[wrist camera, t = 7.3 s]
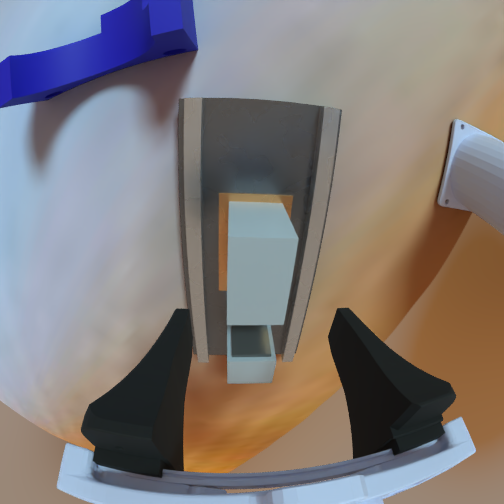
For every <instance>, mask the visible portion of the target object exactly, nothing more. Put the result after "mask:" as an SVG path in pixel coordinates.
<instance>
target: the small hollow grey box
mask: <svg viewBox="0 0 504 504" xmlns="http://www.w3.org/2000/svg"><path fill="white" fill-rule="evenodd" d="M275 365H276V355H275V349H274V343H273V337H272V331H271V325H227V384H243V383H272V379H273V375H274V370H275Z"/></svg>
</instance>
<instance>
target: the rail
mask: <svg viewBox="0 0 504 504" xmlns="http://www.w3.org/2000/svg"><path fill="white" fill-rule="evenodd" d="M341 112H342V110H340V109H336V108H330V107H324V106H315V105H308V104H300V103H292V102H282V101H271V100H258V99H238V98H184V99H179V126H178V155H179V196H180V218H181V235H182V250H183V263H184V274H185V285H186V295H187V305H188V309H190V317H191V326H192V334H193V352H194V354H197V357H198V362H206V363H209V355H227V259H228V216H229V201H236V202H266V203H283V205H284V208H285V210H286V212H287V214H288V216H289V218H290V221H291V223H292V225H293V227H294V229H295V232H296V234H297V236H298V238H299V239H298V246H297V252H296V258H295V264H294V270H293V276H292V282H291V288H290V293H289V299H288V304H287V310H286V315H285V320H284V325H271V331H272V337H273V343H274V349H275V354H281V357H282V362H290V361H293V357H294V354H295V353H296V350H297V347H298V343H299V339H300V335H301V331H302V327H303V323H304V319H305V315H306V311H307V307H308V303H309V299H310V294H311V290H312V286H313V281H314V277H315V272H316V267H317V263H318V258H319V253H320V248H321V243H322V238H323V233H324V227H325V222H326V216H327V211H328V205H329V199H330V193H331V187H332V181H333V174H334V167H335V160H336V153H337V146H338V138H339V130H340V121H341Z"/></svg>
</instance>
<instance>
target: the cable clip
mask: <svg viewBox="0 0 504 504" xmlns="http://www.w3.org/2000/svg"><path fill="white" fill-rule="evenodd" d="M101 32H102V33H100V34H97V35H95V36H92V37H89V38H86V39H84V40H81V41H78V42H74V43H71V44H68V45H65V46H61V47H58V48H54V49H50V50H46V51H42V52H37V53H32V54H25V55H15V56H9V57H7V58H6V59H5V60H3V61H2V62H1V63H0V108H3V107H8V106H14V105H19V104H25V103H31V102H38V101H45V100H49V99H51V98H53V97H55V96H57V95H59V94H61V93H63V92H65V91H67V90H70V89H72V88H74V87H76V86H79V85H81V84H83V83H86V82H88V81H91V80H93V79H96V78H98V77H101V76H104V75H106V74H109V73H112V72H115V71H118V70H121V69H124V68H127V67H130V66H133V65H137V64H140V63H144V62H147V61H151V60H155V59H159V58H163V57H167V56H171V55H176V54H180V53H185V52H190V51H195V50H198V45H197V37H196V28H195V20H194V10H193V1H192V0H130V1H129V2H127V3H125V4H124V5H122V6H120V7H118V8H116V9H114V10H112V11H110V12H107V13H105V14H103V15H101Z"/></svg>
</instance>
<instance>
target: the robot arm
mask: <svg viewBox="0 0 504 504" xmlns="http://www.w3.org/2000/svg"><path fill="white" fill-rule="evenodd" d="M461 125H462V127H461ZM445 201H446V202H445ZM437 202H438V204H439V205H440V206H444V207H449V208H455V209H461V210H466V211H472V212H473V213H475V214H476V215H478V216H479V217H480V218H482V219H483V220H485V221H486V222H487V223H489V224H490V225H491V226H493V227H494V228H495V229H497V230H498V231H499V232H500V233H502V234H503V235H504V142H502V141H500V140H498V139H497V138H495V137H493V136H491V135H489V134H487V133H485V132H484V131H482V130H480V129H478V128H476V127H474V126H471V125H469V124H467V123H465V122H463V121H461V120H458V119H455V120H454V121H453V125H452V132H451V139H450V145H449V150H448V156H447V161H446V166H445V170H444V175H443V179H442V184H441V188H440V192H439V196H438V200H437ZM328 339H329V344H330V349H331V354H332V357H333V360H334V362H335V365H336V368H337V371H338V374H339V377H340V380H341V383H342V386H343V389H344V392H345V396H346V401H347V406H348V412H349V418H350V424H351V433H352V443H353V459H352V460H347V461H343V462H338V463H333V464H328V465H322V466H316V467H310V468H303V469H296V470H286V471H277V472H262V473H232V474H231V473H230V474H229V473H198V472H185V471H184V464H183V421H184V401H185V393H186V387H187V381H188V376H189V370H190V364H191V358H192V346H193V334H192V326H191V317H190V309H176V310H175V311H174V313H173V315H172V317H171V319H170V320H169V322H168V324H167V326H166V327H165V329H164V330H163V332H162V333H161V335H160V336H159V338H158V339H157V341H156V342H155V344H154V345H153V346H152V348H151V349H150V350H149V352H148V353H147V354H146V355H145V357H144V358H143V359H142V360H141V361H140V363H139V364H138V365H137V366H136V367H135V368H134V369H133V370H132V371H131V372H130V373H129V374H128V375H127V376H126V377H125V378H124V379H123V380H122V381H121V382H119V383H118V384H117V385H116V386H115V387H113V388H112V389H111V390H110V391H108V392H107V393H106V394H104V395H103V396H101V397H100V398H98V399H97V400H95V401H94V402H92V403H91V404H89V406H88V409H87V411H86V413H85V416H84V420H83V423H82V427H81V432H82V434H83V435H84V436H85V437H86V438H87V439H88V440H89V441H90V442H91V443H92V444H93V445H94V446H95V451H94V452H93V451H91V450H88V449H86V448H82V447H79V446H76V445H72V444H69V443H67V444H66V446H65V450H64V454H63V459H62V463H61V467H60V473H59V477H58V482H57V488H58V489H59V490H62V491H64V492H66V493H68V494H70V495H72V496H75V497H77V498H80V499H82V500H85V501H88V502H91V503H94V504H384V503H383V499H384V498H387V497H389V496H392V495H394V494H397V493H400V492H402V491H405V490H407V489H409V488H412V487H414V486H416V485H418V484H420V483H423V482H425V481H427V480H429V479H431V478H433V477H435V476H437V475H439V474H440V473H443V472H445V471H446V470H448V469H450V468H452V467H453V466H455V465H456V464H458V463H460V462H461V461H463V460H464V459H466V458H467V457H469V456H470V455H472V454H473V453H475V452H476V449H475V447H474V444H473V442H472V440H471V437H470V435H469V432H468V430H467V428H466V426H465V423H464V421H463V419H462V417H459V418H457V419H455V420H452V421H450V422H448V423H446V424H445V425H443V426H442V424H441V421H443V417H442V415H441V414H442V413H443V412H444V411H445V410H446V409H447V408H448V407H449V406H450V405H451V404H452V403H453V402H454V400H455V398H456V394H455V392H454V390H453V388H452V387H451V385H450V383H448V382H446V381H444V380H441V379H439V378H436V377H434V376H432V375H430V374H428V373H426V372H424V371H422V370H420V369H419V368H417V367H415V366H414V365H412V364H411V363H409V362H408V361H406V360H405V359H403V358H402V357H401V356H399V355H398V354H396V353H395V352H394V351H393V350H392V349H390V348H389V347H388V346H387V345H386V344H385V343H383V342H382V341H381V340H380V339H379V338H378V337H377V336H376V335H375V334H374V333H373V332H372V331H371V330H370V329H369V328H368V327H367V326H366V325H365V324H364V323H363V322H362V321H361V320H360V319H359V318H358V317H357V316H356V315H355V314H354V313H353V312H352V311H351V310H350V309H349V308H337V311H336V314H335V317H334V320H333V323H332V326H331V329H330V332H329V335H328ZM347 475H349V476H347ZM343 476H345V477H343ZM338 477H341V478H338ZM334 478H336V479H334ZM329 479H331V480H329ZM324 480H326V481H324ZM318 481H321V482H318ZM312 482H315V483H312ZM306 483H309V484H306ZM298 484H303V485H298ZM291 485H295V486H291ZM282 486H289V487H283V488H278V489H273V490H266V491H258V492H246V493H229V494H227V492H226V491H225V490H222V489H256V488H271V487H282Z"/></svg>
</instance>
